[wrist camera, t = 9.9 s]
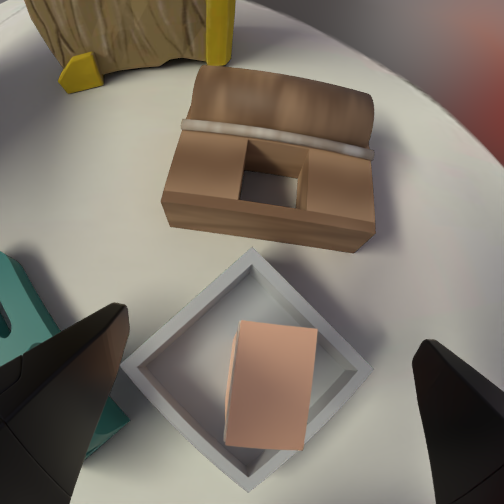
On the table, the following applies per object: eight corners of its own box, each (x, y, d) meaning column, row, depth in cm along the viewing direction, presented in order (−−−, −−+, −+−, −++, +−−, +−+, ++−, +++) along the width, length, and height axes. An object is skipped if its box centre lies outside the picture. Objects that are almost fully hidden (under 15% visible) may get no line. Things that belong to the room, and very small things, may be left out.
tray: (355, 368, 20) (374, 369, 18) (244, 476, 17) (248, 492, 15) (248, 261, 22) (252, 246, 20) (132, 364, 19) (119, 364, 17)
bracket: (131, 419, 18) (86, 446, 11) (76, 466, 16) (23, 498, 9) (11, 243, 21) (-42, 204, 14) (-30, 291, 19) (-86, 266, 12)
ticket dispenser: (353, 253, 23) (394, 215, 17) (170, 226, 23) (152, 177, 16) (349, 132, 28) (374, 82, 21) (202, 108, 27) (200, 51, 21)
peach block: (262, 404, 19) (304, 451, 8) (224, 400, 18) (223, 446, 8) (270, 343, 20) (319, 327, 10) (232, 339, 20) (240, 318, 9)
